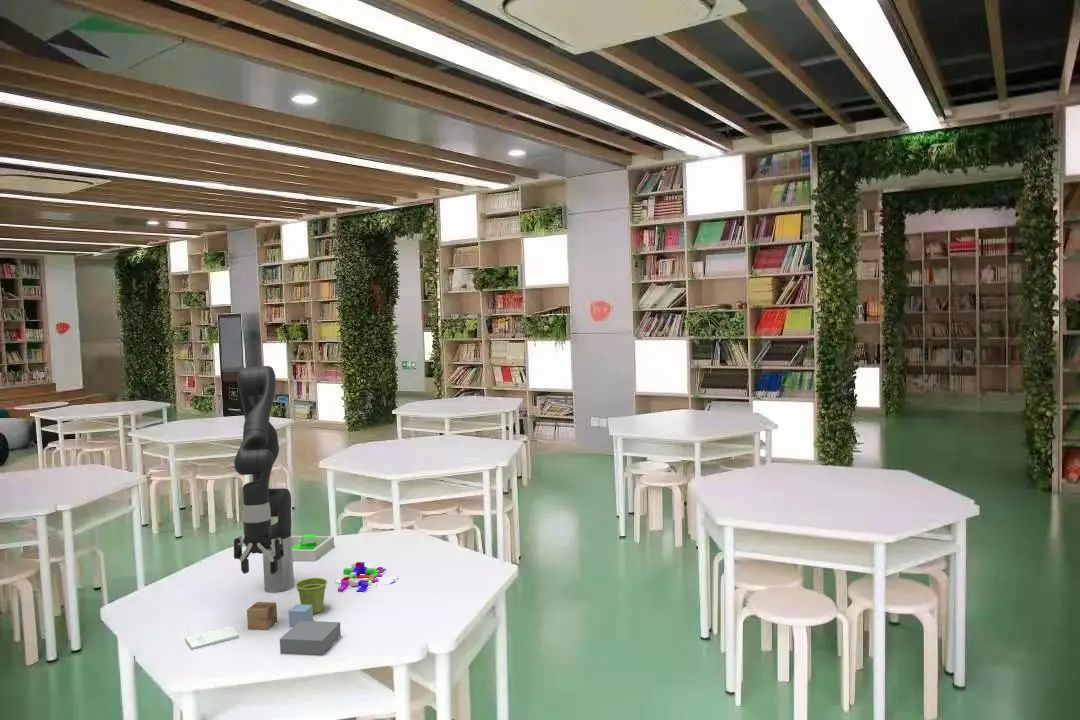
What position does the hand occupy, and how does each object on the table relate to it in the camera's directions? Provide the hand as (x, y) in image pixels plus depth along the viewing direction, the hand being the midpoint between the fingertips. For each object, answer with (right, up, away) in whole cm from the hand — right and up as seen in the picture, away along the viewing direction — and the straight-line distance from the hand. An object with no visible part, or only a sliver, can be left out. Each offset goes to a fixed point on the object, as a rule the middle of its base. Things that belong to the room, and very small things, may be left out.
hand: (259, 573), depth 224 cm
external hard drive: (-11, -17, -7) cm, 22 cm away
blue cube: (+12, -16, +2) cm, 19 cm away
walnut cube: (0, -16, +1) cm, 16 cm away
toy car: (-8, -12, +68) cm, 69 cm away
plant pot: (+12, -15, +12) cm, 22 cm away
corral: (-8, -11, +68) cm, 69 cm away
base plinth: (+19, -16, -13) cm, 28 cm away
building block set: (+23, -13, +38) cm, 47 cm away
